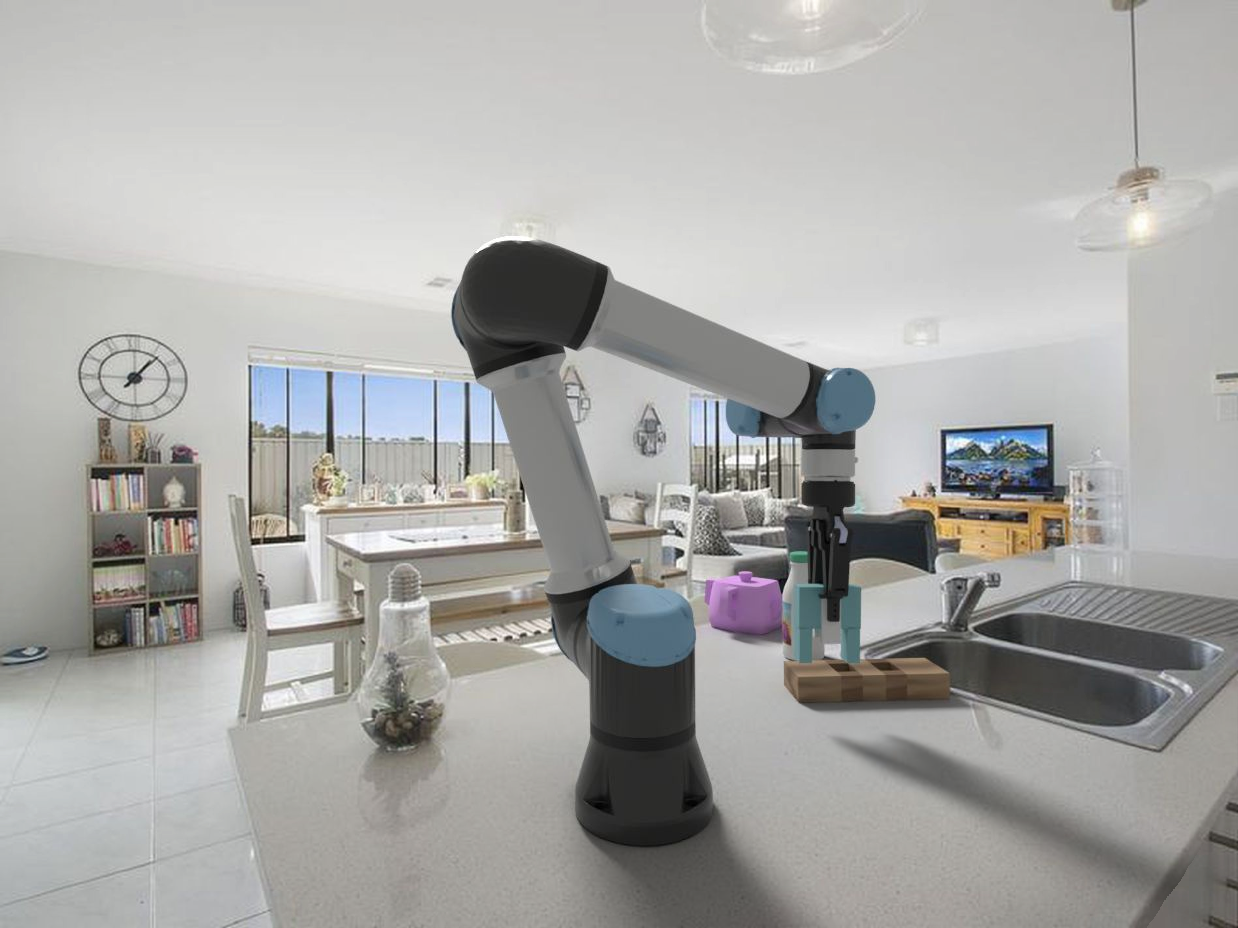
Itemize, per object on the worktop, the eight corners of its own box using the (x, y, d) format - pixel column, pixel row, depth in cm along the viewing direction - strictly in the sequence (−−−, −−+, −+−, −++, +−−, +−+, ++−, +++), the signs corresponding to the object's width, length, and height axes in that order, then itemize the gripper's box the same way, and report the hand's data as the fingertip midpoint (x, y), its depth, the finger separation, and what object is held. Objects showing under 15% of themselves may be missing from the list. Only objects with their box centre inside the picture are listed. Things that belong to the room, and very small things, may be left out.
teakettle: (701, 618, 156) (700, 567, 156) (770, 615, 158) (769, 564, 158) (719, 637, 139) (719, 580, 139) (796, 634, 141) (795, 577, 141)
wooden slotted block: (950, 698, 102) (949, 673, 102) (798, 702, 101) (798, 676, 101) (924, 681, 110) (924, 657, 110) (784, 684, 109) (783, 660, 109)
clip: (860, 663, 94) (861, 587, 94) (798, 663, 94) (799, 586, 94) (853, 657, 97) (854, 583, 97) (793, 657, 96) (794, 583, 96)
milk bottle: (829, 654, 126) (828, 551, 126) (818, 665, 119) (816, 556, 119) (790, 648, 130) (788, 548, 130) (777, 659, 123) (775, 553, 123)
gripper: (876, 480, 88) (874, 655, 87) (834, 478, 103) (832, 626, 103) (820, 480, 87) (819, 655, 87) (787, 478, 103) (786, 626, 103)
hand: (826, 639), depth 95 cm, fingers closed on clip, 3 cm apart
